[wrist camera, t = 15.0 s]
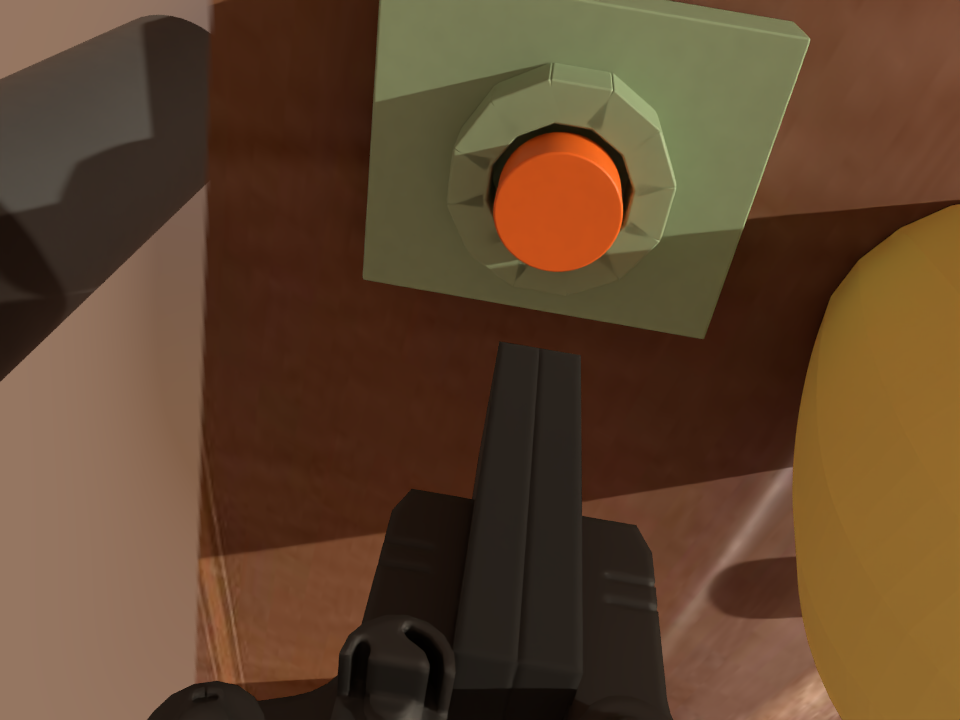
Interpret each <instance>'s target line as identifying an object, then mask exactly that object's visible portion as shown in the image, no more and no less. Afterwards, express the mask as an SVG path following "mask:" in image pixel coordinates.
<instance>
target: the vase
mask: <svg viewBox="0 0 960 720" xmlns="http://www.w3.org/2000/svg"><path fill="white" fill-rule="evenodd" d="M793 517H794V532H795V547H796V562H797V576H798V590H799V598H800V605H801V612H802V618H803V622H804V627H805V631H806V635H807V640H808V644H809V647H810V650H811V653H812V656H813V659H814V662H815V665H816V668H817V670H818V673H819V675H820V677H821V679H822V682H823V684H824V686H825V688H826V691H827V693H828V695H829V697H830V699H831V701H832V703H833V705H834V706H835V708H836V710H837V712H838V713H839V715H840V717H841V719H842V720H960V204H958V205H952V206H949V207H947V208H945V209H942V210H940V211H938V212H935V213H933V214H931V215H929V216H926V217H924V218H922V219H920V220H917V221H915V222H913V223H911V224H908V225H906V226H904V227H901V228H900V229H898V230H897V231H896V232H894V233H893V234H892V235H890V236H889V237H888V238H887V239H885V240H884V241H883V242H881V243H880V244H879V245H877V246H876V247H875V248H874V249H872V250H871V251H870V252H868V253H867V254H866V255H864V256H863V257H862V258H861V259H859V260H858V262H857V263H856V264H855V265H854V267H853V268H852V269H851V271H850V272H849V273H848V275H847V276H846V277H845V279H844V280H843V281H842V282H841V284H840V285H839V286H838V288H837V289H836V290H835V292H834V293H833V294H832V296H831V297H830V300H829V303H828V306H827V308H826V311H825V314H824V317H823V320H822V323H821V325H820V328H819V331H818V334H817V337H816V340H815V344H814V347H813V351H812V354H811V358H810V362H809V366H808V370H807V374H806V379H805V383H804V388H803V393H802V398H801V404H800V410H799V416H798V423H797V430H796V439H795V448H794V462H793Z"/></svg>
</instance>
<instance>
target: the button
mask: <svg viewBox="0 0 960 720" xmlns="http://www.w3.org/2000/svg"><path fill="white" fill-rule="evenodd" d="M493 218H494V224H495V228H496V231H497V233H498V236H499V237H500V239H501V241H502V243H503V244H504V246H505V247H506V248H507V249H508V250H509V252H510V253H511V254H513V255H514V256H515V257H516V258H517V259H519V260H520V261H522V262H523V263H525V264H527V265H529V266H531V267H534V268H537V269H540V270H544V271H551V272H564V271H571V270H575V269H579V268H582V267H584V266H587V265H588V264H590V263H592V262H594V261H595V260H597V259H598V258H600V257H601V256H602V255H603V254H604V253H605V252H606V251H607V250H608V249H609V248H610V247H611V245H612V244H613V242H614V241H615V239H616V237H617V235H618V233H619V231H620V228H621V224H622V219H623V202H622V191H621V181H620V176H619V172H618V170H617V167H616V165H615V163H614V161H613V160H612V158H611V157H610V155H609V154H608V153H607V152H606V151H605V150H604V149H603V148H602V147H601V146H600V145H599V144H597V143H596V142H594V141H593V140H591V139H589V138H587V137H584V136H582V135H579V134H575V133H570V132H551V133H545V134H542V135H538V136H536V137H534V138H532V139H530V140H528V141H526V142H525V143H523V144H522V145H521V146H519V147H518V148H517V149H516V150H515V151H514V152H513V153H512V154H511V156H510V157H509V158H508V160H507V161H506V163H505V165H504V167H503V169H502V172H501V175H500V179H499V183H498V187H497V191H496V196H495V200H494V206H493Z"/></svg>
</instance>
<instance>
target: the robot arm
mask: <svg viewBox="0 0 960 720" xmlns="http://www.w3.org/2000/svg"><path fill="white" fill-rule="evenodd" d="M654 583H655V578H654V568H653V558H652V552H651V550H650V549H649V547H648V545H647V543H646V542H645V540H644V538H643V536H642V535H641V533H640V531H639V529H638V528H637V526H636V525H631V524H625V523H620V522H614V521H608V520H602V519H596V518H591V517H585V516H582V466H581V355H576V354H570V353H564V352H558V351H552V350H547V349H541V348H535V347H529V346H523V345H517V344H511V343H506V342H500V341H499V346H498V352H497V357H496V363H495V369H494V374H493V380H492V385H491V391H490V396H489V402H488V407H487V413H486V419H485V424H484V430H483V435H482V441H481V446H480V452H479V458H478V464H477V471H476V477H475V484H474V490H473V497H472V499H468V498H463V497H457V496H451V495H445V494H439V493H433V492H428V491H422V490H416V489H411V490H410V491H409V492H408V493H407V494H406V496H405V497H404V498H403V499H402V500H401V501H400V502H399V503H398V504H397V505H396V507H395V508H394V509H393V510H392V513H391V516H390V520H389V524H388V528H387V531H386V535H385V540H384V543H383V546H382V550H381V554H380V558H379V562H378V565H377V569H376V572H375V576H374V580H373V584H372V587H371V591H370V595H369V599H368V602H367V606H366V610H365V613H364V617H363V621H362V625H361V626H360V627H358V628H357V629H356V630H355V631H353V632H352V633H351V634H350V635H349V636H348V638H347V640H346V642H345V644H344V645H343V647H342V649H341V651H340V653H339V667H338V675H337V676H336V677H335V678H334V679H332V680H331V681H330V682H329V683H327V684H325V685H323V686H321V687H319V688H317V689H315V690H313V691H311V692H307V693H303V694H299V695H296V696H289V697H283V698H276V699H269V700H262V701H256V699H255V697H254V696H252V695H251V694H249V693H248V692H247V691H245V690H244V689H242V688H241V687H240V686H238V685H233V684H229V683H224V682H219V681H213V682H206V683H199V684H193V685H191V686H189V687H187V688H185V689H183V690H181V691H178V692H177V693H174V694H172V695H171V696H170V697H169V698H168V699H167V700H165V702H163V703H162V704H161V705H160V706H159V707H158V708H157V709H156V710H155V711H154V712H153V713H152V714H151V716H150V717H149V718H148V720H673V718H672V716H671V714H670V710H669V706H668V702H667V695H666V685H665V676H664V666H663V656H662V646H661V637H660V627H659V617H658V612H657V597H656V588H655V587H654Z"/></svg>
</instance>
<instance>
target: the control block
mask: <svg viewBox="0 0 960 720" xmlns="http://www.w3.org/2000/svg"><path fill="white" fill-rule="evenodd" d="M809 43H810V38H809V37H808V36H807V35H806V34H805V33H804V32H803V31H802V30H801V29H800V28H799V27H798V26H797V25H796V24H795V23H794V22H791V21H786V20H780V19H774V18H768V17H762V16H756V15H750V14H744V13H738V12H733V11H727V10H721V9H715V8H709V7H703V6H697V5H691V4H685V3H680V2H674V1H668V0H379V12H378V29H377V45H376V62H375V79H374V95H373V112H372V129H371V145H370V162H369V179H368V195H367V212H366V229H365V245H364V262H363V279H364V280H369V281H375V282H380V283H386V284H392V285H397V286H403V287H409V288H414V289H420V290H426V291H431V292H437V293H443V294H448V295H454V296H460V297H466V298H471V299H477V300H483V301H488V302H494V303H500V304H505V305H511V306H517V307H522V308H528V309H534V310H540V311H545V312H551V313H557V314H562V315H568V316H574V317H579V318H585V319H591V320H596V321H602V322H608V323H614V324H619V325H625V326H631V327H636V328H642V329H648V330H653V331H659V332H665V333H670V334H676V335H682V336H688V337H693V338H699V339H704V337H705V335H706V332H707V329H708V326H709V324H710V321H711V318H712V315H713V312H714V310H715V307H716V304H717V301H718V298H719V296H720V293H721V290H722V287H723V284H724V282H725V279H726V276H727V273H728V270H729V268H730V265H731V262H732V259H733V256H734V254H735V251H736V248H737V245H738V242H739V240H740V237H741V234H742V231H743V228H744V226H745V223H746V220H747V217H748V214H749V211H750V209H751V206H752V203H753V200H754V197H755V195H756V192H757V189H758V186H759V183H760V181H761V178H762V175H763V172H764V169H765V167H766V164H767V161H768V158H769V155H770V153H771V150H772V147H773V144H774V141H775V139H776V136H777V133H778V130H779V127H780V125H781V122H782V119H783V116H784V113H785V111H786V108H787V105H788V102H789V99H790V97H791V94H792V91H793V88H794V85H795V82H796V80H797V77H798V74H799V71H800V68H801V66H802V63H803V60H804V57H805V54H806V52H807V49H808V46H809ZM551 132H570V133H575V134H579V135H582V136H584V137H587V138H589V139H591V140H593V141H594V142H596V143H597V144H599V145H600V146H601V147H602V148H603V149H604V150H605V151H606V152H607V153H608V154H609V155H610V157H611V158H612V160H613V161H614V163H615V165H616V167H617V170H618V172H619V176H620V181H621V191H622V202H623V219H622V224H621V228H620V231H619V233H618V235H617V237H616V239H615V241H614V242H613V244H612V245H611V247H610V248H609V249H608V250H607V251H606V252H605V253H604V254H603V255H602V256H601V257H600V258H598V259H597V260H595V261H594V262H592V263H590V264H588V265H587V266H584V267H582V268H579V269H575V270H571V271H564V272H551V271H544V270H540V269H537V268H534V267H531V266H529V265H527V264H525V263H523V262H522V261H520V260H519V259H517V258H516V257H515V256H514V255H513V254H511V253H510V252H509V250H508V249H507V248H506V247H505V246H504V244H503V243H502V241H501V239H500V237H499V236H498V233H497V231H496V228H495V224H494V218H493V206H494V200H495V196H496V191H497V187H498V183H499V179H500V175H501V172H502V169H503V167H504V165H505V163H506V161H507V160H508V158H509V157H510V156H511V154H512V153H513V152H514V151H515V150H516V149H517V148H518V147H519V146H521V145H522V144H523V143H525V142H526V141H528V140H530V139H532V138H534V137H536V136H538V135H542V134H545V133H551Z"/></svg>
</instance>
